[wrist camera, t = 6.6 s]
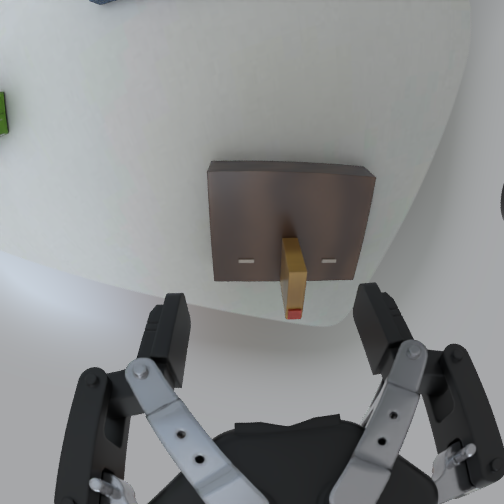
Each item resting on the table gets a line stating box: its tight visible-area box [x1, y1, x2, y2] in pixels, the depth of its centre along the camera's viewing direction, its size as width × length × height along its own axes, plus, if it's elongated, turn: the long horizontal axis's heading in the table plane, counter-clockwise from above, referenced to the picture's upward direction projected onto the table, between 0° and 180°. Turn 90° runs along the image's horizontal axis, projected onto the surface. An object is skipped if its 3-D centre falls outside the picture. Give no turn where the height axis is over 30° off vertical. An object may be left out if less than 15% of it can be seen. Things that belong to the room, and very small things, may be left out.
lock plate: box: [207, 161, 376, 281], centre depth 26 cm, size 14×11×3 cm
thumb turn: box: [280, 238, 307, 319], centre depth 25 cm, size 5×1×5 cm, turn 1°
